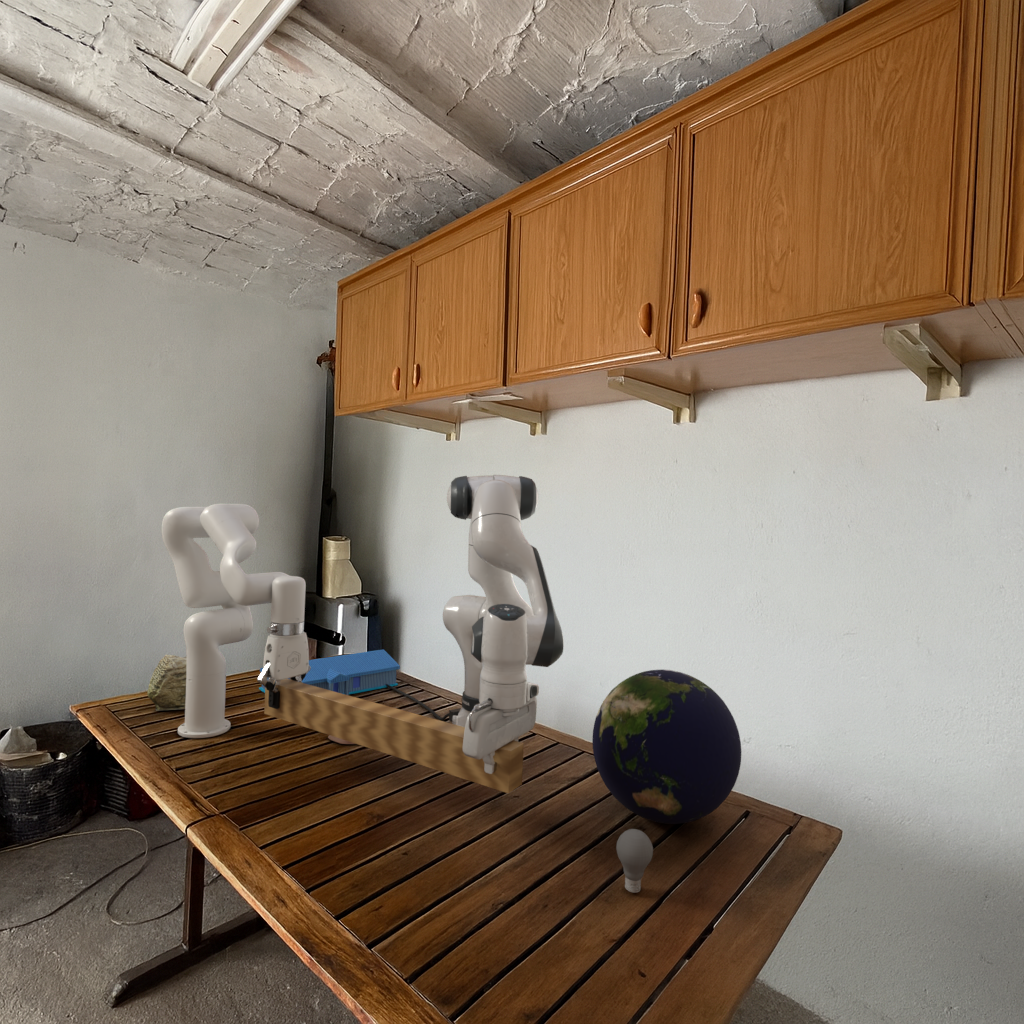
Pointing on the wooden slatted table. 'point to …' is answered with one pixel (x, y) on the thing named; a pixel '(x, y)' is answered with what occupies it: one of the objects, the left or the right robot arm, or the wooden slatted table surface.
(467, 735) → the right robot arm
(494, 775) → the bar
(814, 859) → the wooden slatted table surface
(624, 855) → the light bulb
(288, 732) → the wooden slatted table surface
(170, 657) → the fossil
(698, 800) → the globe
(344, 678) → the model building
